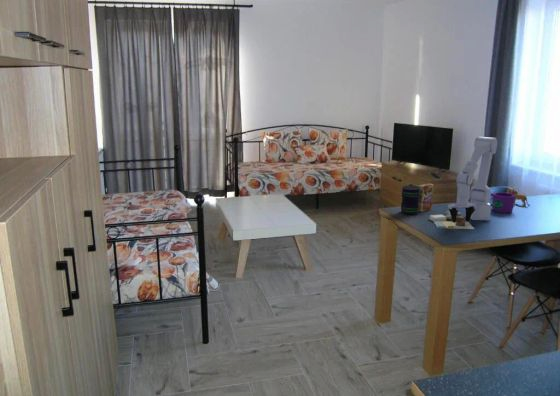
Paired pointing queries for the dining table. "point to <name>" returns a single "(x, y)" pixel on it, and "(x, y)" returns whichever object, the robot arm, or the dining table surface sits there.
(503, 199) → the mug
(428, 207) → the candy box
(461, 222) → the walnut cylinder
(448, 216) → the tin
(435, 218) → the soap bar
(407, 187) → the storage jar
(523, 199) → the lion figurine
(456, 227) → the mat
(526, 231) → the dining table surface
